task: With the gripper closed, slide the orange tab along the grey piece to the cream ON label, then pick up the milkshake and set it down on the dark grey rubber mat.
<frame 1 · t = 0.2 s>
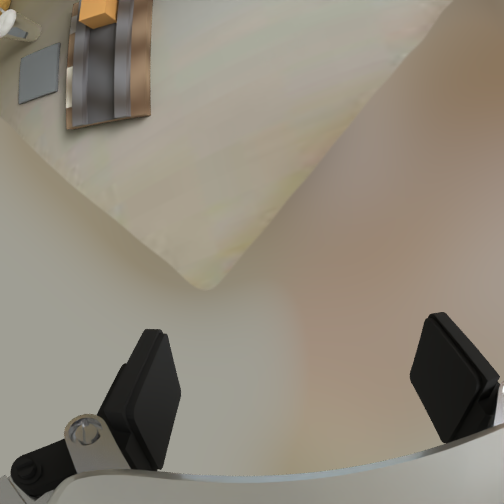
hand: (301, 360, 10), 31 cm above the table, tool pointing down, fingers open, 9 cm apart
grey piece: (110, 54, 33), on the table
stress ball: (3, 11, 27), on the table
milkshake: (35, 31, 30), on the table
mat: (39, 73, 33), on the table
switch tab: (99, 9, 27), point 4 cm above the table, slide at 0.0 cm
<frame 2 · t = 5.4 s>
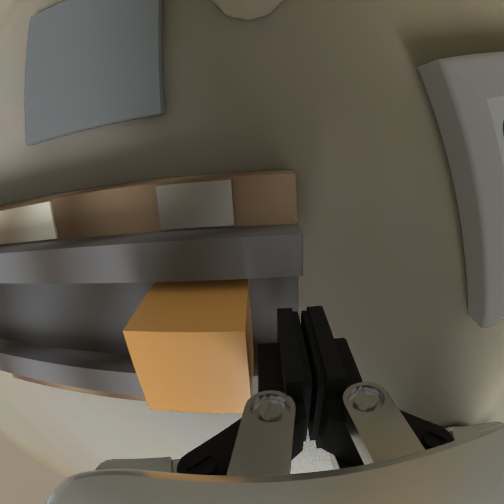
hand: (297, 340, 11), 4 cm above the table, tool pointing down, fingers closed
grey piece: (108, 296, 16), on the table
mat: (88, 55, 12), on the table
switch tab: (199, 343, 12), point 4 cm above the table, slide at 0.1 cm, touching gripper
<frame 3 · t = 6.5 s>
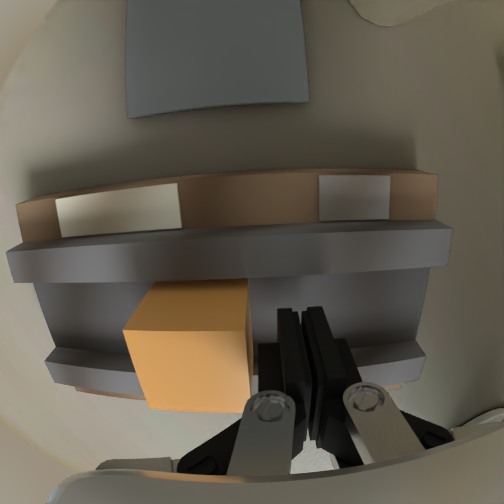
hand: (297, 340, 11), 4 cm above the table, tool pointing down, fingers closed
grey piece: (221, 294, 16), on the table
milkshake: (383, 2, 11), on the table
mat: (212, 28, 11), on the table
switch tab: (198, 342, 12), point 4 cm above the table, slide at 6.5 cm, touching gripper
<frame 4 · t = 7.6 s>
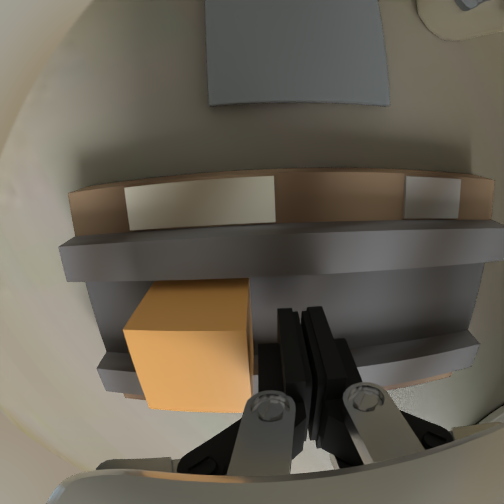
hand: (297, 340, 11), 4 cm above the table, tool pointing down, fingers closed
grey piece: (295, 290, 16), on the table
milkshake: (444, 17, 10), on the table
mat: (295, 23, 11), on the table
switch tab: (199, 342, 12), point 4 cm above the table, slide at 10.2 cm, touching gripper
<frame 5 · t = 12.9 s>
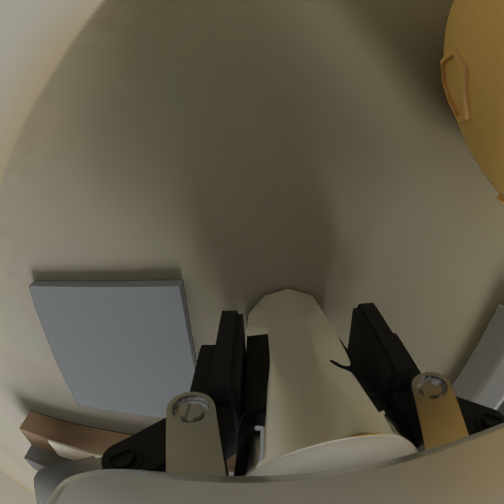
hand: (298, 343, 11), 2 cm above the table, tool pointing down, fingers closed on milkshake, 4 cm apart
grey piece: (166, 479, 18), on the table
grey electronic device: (477, 396, 16), on the table
stress ball: (482, 95, 10), on the table
milkshake: (294, 317, 13), on the table, touching gripper
mat: (118, 353, 14), on the table
when the fingers open (4 cm above the table, at t = 18.4 s): milkshake drops 2 cm, resting on mat.
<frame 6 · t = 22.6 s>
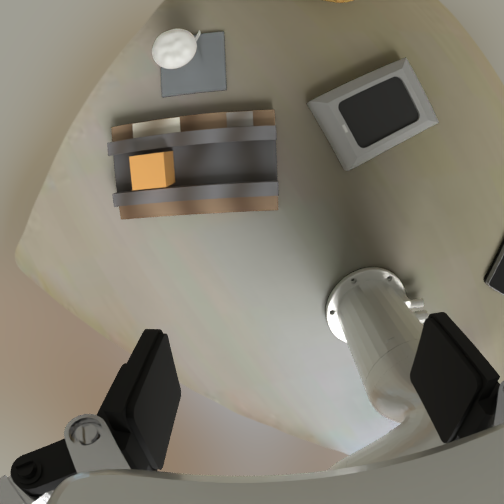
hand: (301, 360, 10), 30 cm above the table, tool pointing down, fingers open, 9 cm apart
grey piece: (194, 163, 37), on the table
grey electronic device: (372, 111, 35), on the table
external hard drive: (503, 259, 42), on the table
milkshake: (193, 65, 33), resting on mat
mat: (193, 63, 33), on the table
switch tab: (153, 169, 34), point 4 cm above the table, slide at 10.0 cm
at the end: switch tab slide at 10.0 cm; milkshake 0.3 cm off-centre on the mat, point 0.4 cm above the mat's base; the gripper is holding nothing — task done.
